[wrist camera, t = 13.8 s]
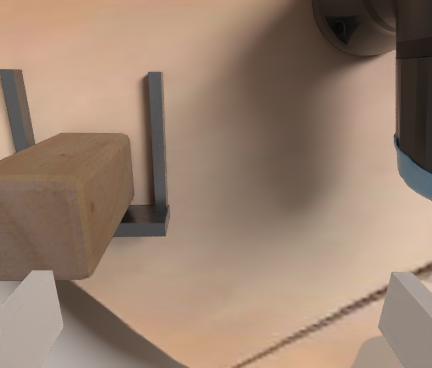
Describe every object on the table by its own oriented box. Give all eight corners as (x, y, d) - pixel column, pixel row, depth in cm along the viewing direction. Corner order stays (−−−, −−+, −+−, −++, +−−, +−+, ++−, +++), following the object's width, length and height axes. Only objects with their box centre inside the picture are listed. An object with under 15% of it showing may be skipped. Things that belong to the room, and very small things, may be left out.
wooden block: (130, 132, 43) (77, 179, 25) (136, 198, 47) (92, 284, 28) (57, 131, 43) (-55, 178, 24) (67, 198, 46) (-24, 286, 27)
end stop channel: (7, 69, 40) (-25, 69, 34) (164, 72, 41) (158, 72, 35) (36, 217, 47) (14, 237, 41) (169, 216, 48) (165, 236, 42)
